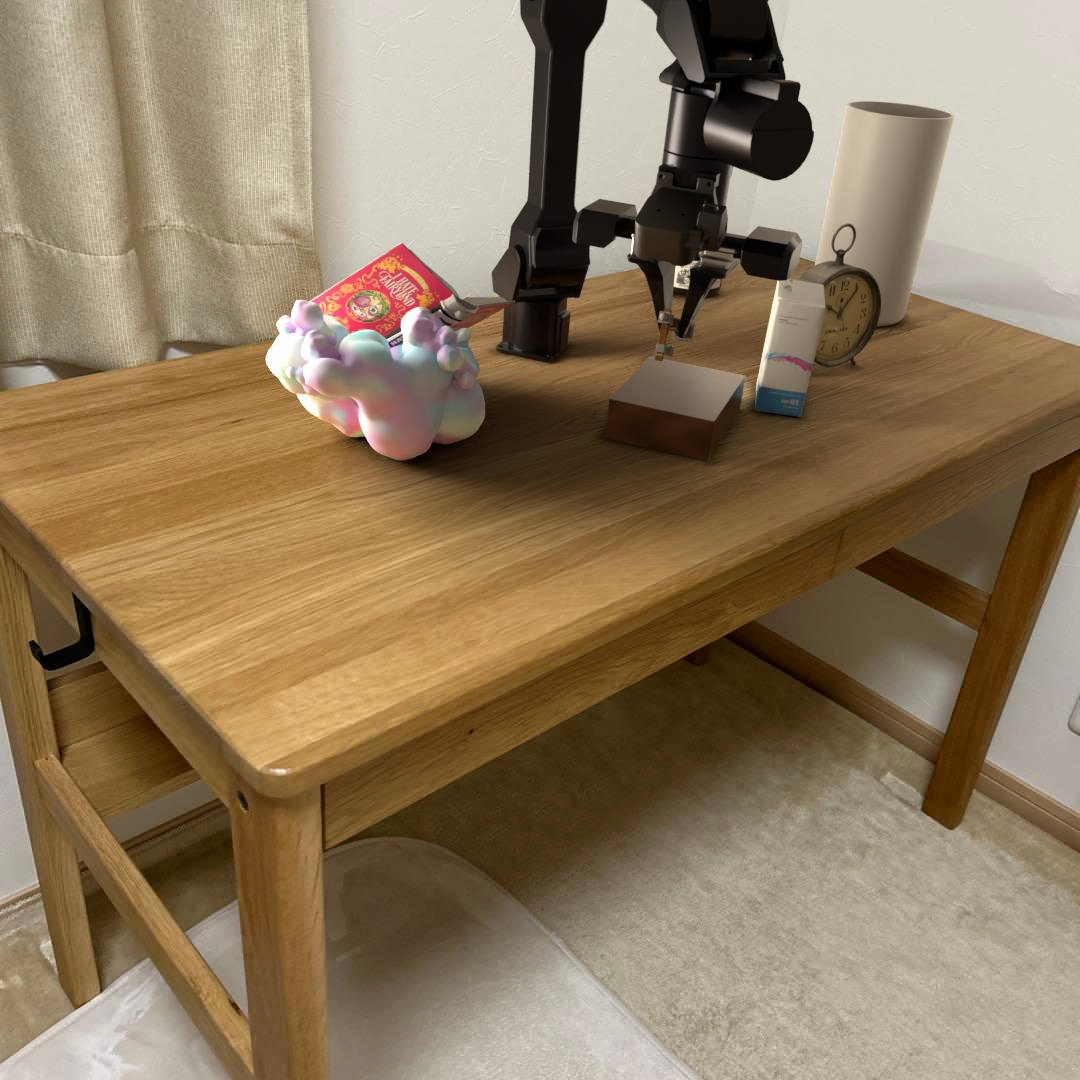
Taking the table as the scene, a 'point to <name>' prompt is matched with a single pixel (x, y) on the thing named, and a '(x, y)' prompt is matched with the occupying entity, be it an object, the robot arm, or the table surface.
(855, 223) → the cylinder vase
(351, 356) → the pastel bubbly cloud sculpture
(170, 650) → the table surface
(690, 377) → the walnut block
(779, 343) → the ink box
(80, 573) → the table surface
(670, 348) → the grey orange jointed piece
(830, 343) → the alarm clock
